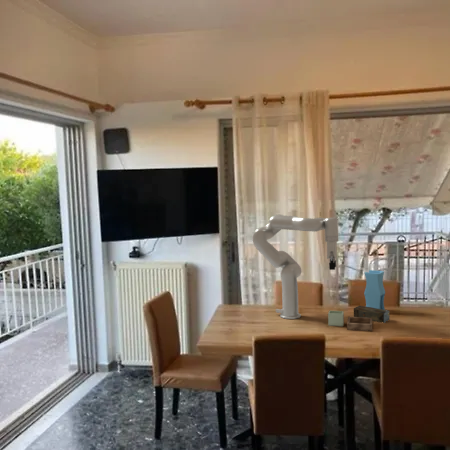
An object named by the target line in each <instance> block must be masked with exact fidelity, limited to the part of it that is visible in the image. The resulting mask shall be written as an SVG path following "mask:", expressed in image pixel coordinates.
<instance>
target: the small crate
mask: <svg viewBox="0 0 450 450" xmlns="http://www.w3.org/2000/svg"><path fill="white" fill-rule="evenodd" d="M327 316H328V317H327V319H328V320H327V321H328V326H332V327H344V324H345V322H344V321H345V320H344V318H345V317H344V316H345V314H344V310H329V311H328V314H327Z"/></svg>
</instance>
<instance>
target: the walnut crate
mask: <svg viewBox="0 0 450 450" xmlns="http://www.w3.org/2000/svg"><path fill="white" fill-rule="evenodd" d="M346 331H359V332H360V331H362V332H373V321H372V318H363V317H354V316H348V317H347V321H346Z"/></svg>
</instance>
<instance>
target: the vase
mask: <svg viewBox="0 0 450 450" xmlns="http://www.w3.org/2000/svg"><path fill="white" fill-rule="evenodd" d="M384 275H385V271H384V270H375V269H374V270H373V269H369V270H368V271H367V272H366V271H364V277H365V280H366V281H365V282H366V285H365V289H364V292H363V293H364V294H363V295H364V298H365V304H366V305H365V306H366V307H371V308H377V309H382V310H386V309H385V295H386V290H385V286H384V283H383V280H384Z"/></svg>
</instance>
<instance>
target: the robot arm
mask: <svg viewBox="0 0 450 450" xmlns="http://www.w3.org/2000/svg"><path fill="white" fill-rule="evenodd" d="M338 224H339V223H338V218H337V217H325V218H324V217H315V218H310V217H309V218H308V217H307V218H306V217H300V216H297V215H283V214H275V215H272V216H271V217H269V221H268V223H267V224H266V225H265V226H261V227H258V228H256V229H255V230H254V232H253V234H252V243H253V245H254V247H255V248H256V249H257V251H258V252H259V253H260V254H261V255H262V256H263V257H264V258H265V259H266V260H267V261H268V263H269V264H270V265H271V266H273V267H274V268H277V269H279V268H281V271H280V281H281V295H282V296H281V297H282V299H281V302H282V305H281V306H282V308H281V309H279V308H275V313H277V314H279V313H280V314H279V316H280V318H282V319H287V320H295V319H299V318H301V316H302V314H301V313H299V288H298V287H299V286H298V279H297V278H299V277H300V276H301V274H302V267H301V265H300V264H299V263H298V262H297V261H296V260H295V259H294V258H293V257H292V256H291V255H290V254H289V253H288V252H286V251H285V250H278V249H277V248H276V247H275V246H273V244H272V243H270V242H269V240H270V239H272V238H274V236H276V235H277V234H278V233H279V232H280V231H281V230H289V231H300V232H314V233H315V232H319V231H324V242H325V243H326V259H327V260H328V261H329V263H328V265H329V270H330V271H334V270H336V268H337V260H336V258H337V250H338V249H337V242H339V225H338Z"/></svg>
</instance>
